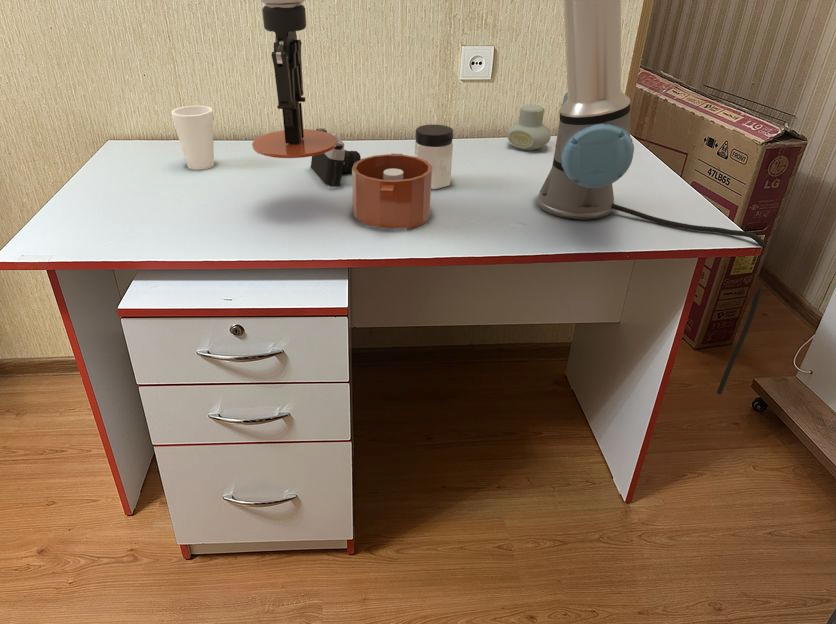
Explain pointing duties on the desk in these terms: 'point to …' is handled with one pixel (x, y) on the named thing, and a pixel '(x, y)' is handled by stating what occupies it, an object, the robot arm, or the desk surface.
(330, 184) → the camera
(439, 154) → the jar
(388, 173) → the pill bottle
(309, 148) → the lid
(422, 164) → the pot
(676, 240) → the desk surface
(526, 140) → the air freshener
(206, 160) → the foam cup
